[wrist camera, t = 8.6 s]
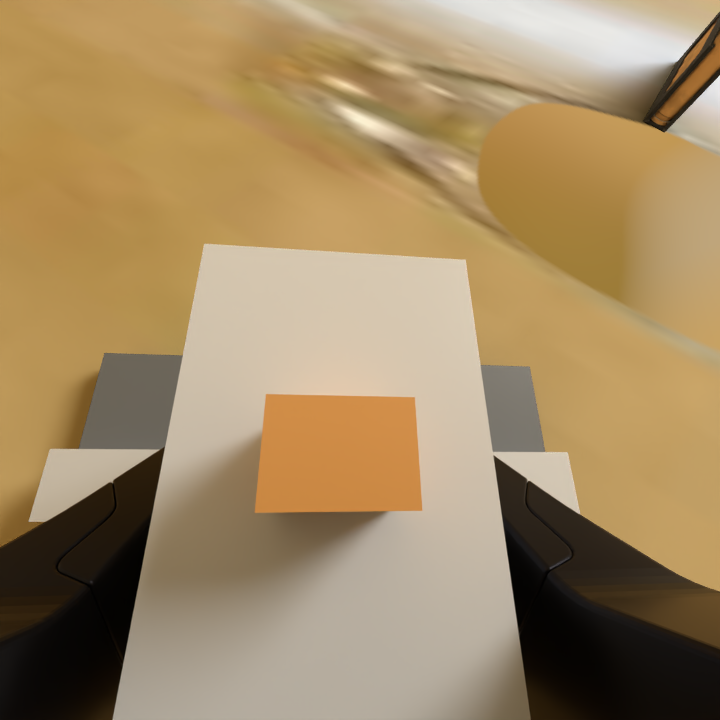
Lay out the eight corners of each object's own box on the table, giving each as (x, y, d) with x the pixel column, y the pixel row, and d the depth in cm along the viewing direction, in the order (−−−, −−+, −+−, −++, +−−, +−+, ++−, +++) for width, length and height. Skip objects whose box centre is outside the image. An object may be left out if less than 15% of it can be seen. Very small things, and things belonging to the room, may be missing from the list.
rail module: (375, 569, 13) (657, 967, 2) (270, 571, 13) (-63, 1079, 2) (372, 412, 16) (501, 200, 4) (282, 410, 15) (172, 174, 4)
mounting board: (516, 374, 18) (547, 356, 16) (558, 620, 15) (607, 648, 12) (119, 362, 16) (82, 339, 14) (48, 643, 13) (-20, 682, 10)
